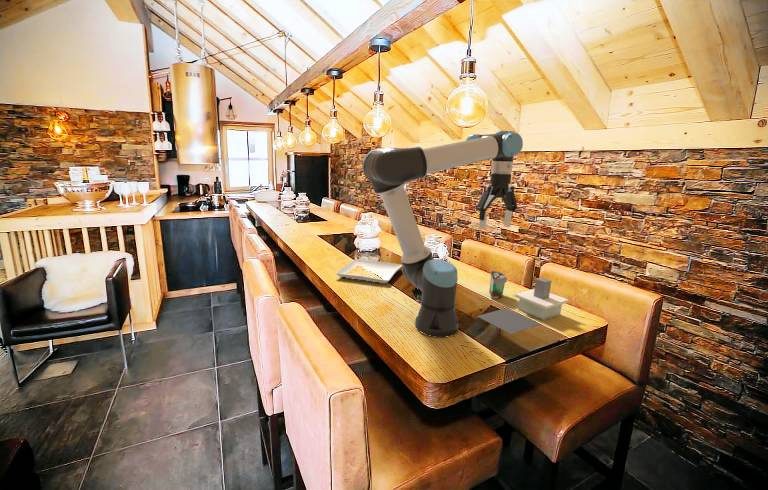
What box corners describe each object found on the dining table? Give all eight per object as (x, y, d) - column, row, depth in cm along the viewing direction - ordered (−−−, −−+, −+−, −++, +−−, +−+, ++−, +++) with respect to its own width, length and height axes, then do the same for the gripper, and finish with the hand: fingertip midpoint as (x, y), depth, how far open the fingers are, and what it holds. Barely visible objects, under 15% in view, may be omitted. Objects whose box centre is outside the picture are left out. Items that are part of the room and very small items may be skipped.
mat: (511, 335, 122) (511, 334, 122) (476, 317, 135) (476, 316, 135) (540, 325, 130) (540, 324, 130) (505, 309, 143) (505, 308, 143)
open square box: (542, 321, 133) (544, 306, 132) (518, 310, 142) (519, 296, 141) (560, 315, 139) (562, 301, 137) (535, 305, 148) (537, 292, 146)
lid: (546, 309, 130) (549, 288, 128) (514, 296, 141) (516, 277, 139) (568, 302, 137) (571, 282, 135) (536, 290, 148) (538, 272, 146)
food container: (506, 302, 150) (509, 280, 148) (491, 301, 151) (493, 279, 149) (503, 292, 162) (505, 271, 159) (489, 291, 163) (491, 270, 160)
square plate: (334, 280, 173) (334, 272, 172) (355, 264, 198) (355, 258, 197) (388, 287, 165) (388, 279, 164) (402, 270, 190) (402, 263, 189)
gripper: (484, 173, 127) (478, 231, 132) (531, 174, 139) (523, 227, 144) (470, 172, 133) (464, 227, 138) (515, 173, 145) (509, 224, 150)
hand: (494, 227), depth 141 cm, fingers open, 13 cm apart
